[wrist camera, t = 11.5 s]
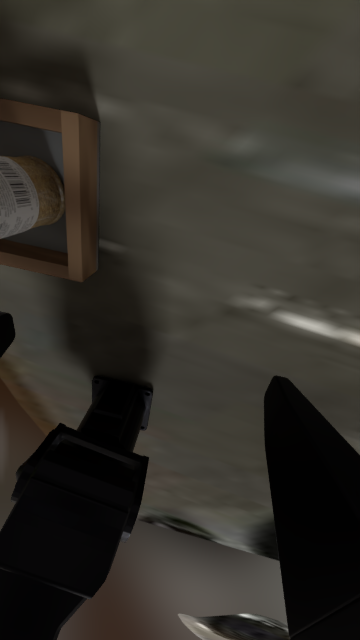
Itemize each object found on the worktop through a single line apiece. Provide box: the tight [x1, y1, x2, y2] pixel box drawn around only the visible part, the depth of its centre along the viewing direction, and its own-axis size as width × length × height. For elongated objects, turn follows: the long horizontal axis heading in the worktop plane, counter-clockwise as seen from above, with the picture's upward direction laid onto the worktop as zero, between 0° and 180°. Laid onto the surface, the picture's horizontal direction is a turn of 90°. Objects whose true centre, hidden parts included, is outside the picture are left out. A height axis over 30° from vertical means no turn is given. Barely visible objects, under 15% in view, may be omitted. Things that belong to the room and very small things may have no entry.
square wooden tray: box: [0, 98, 100, 282], centre depth 18 cm, size 10×10×3 cm
